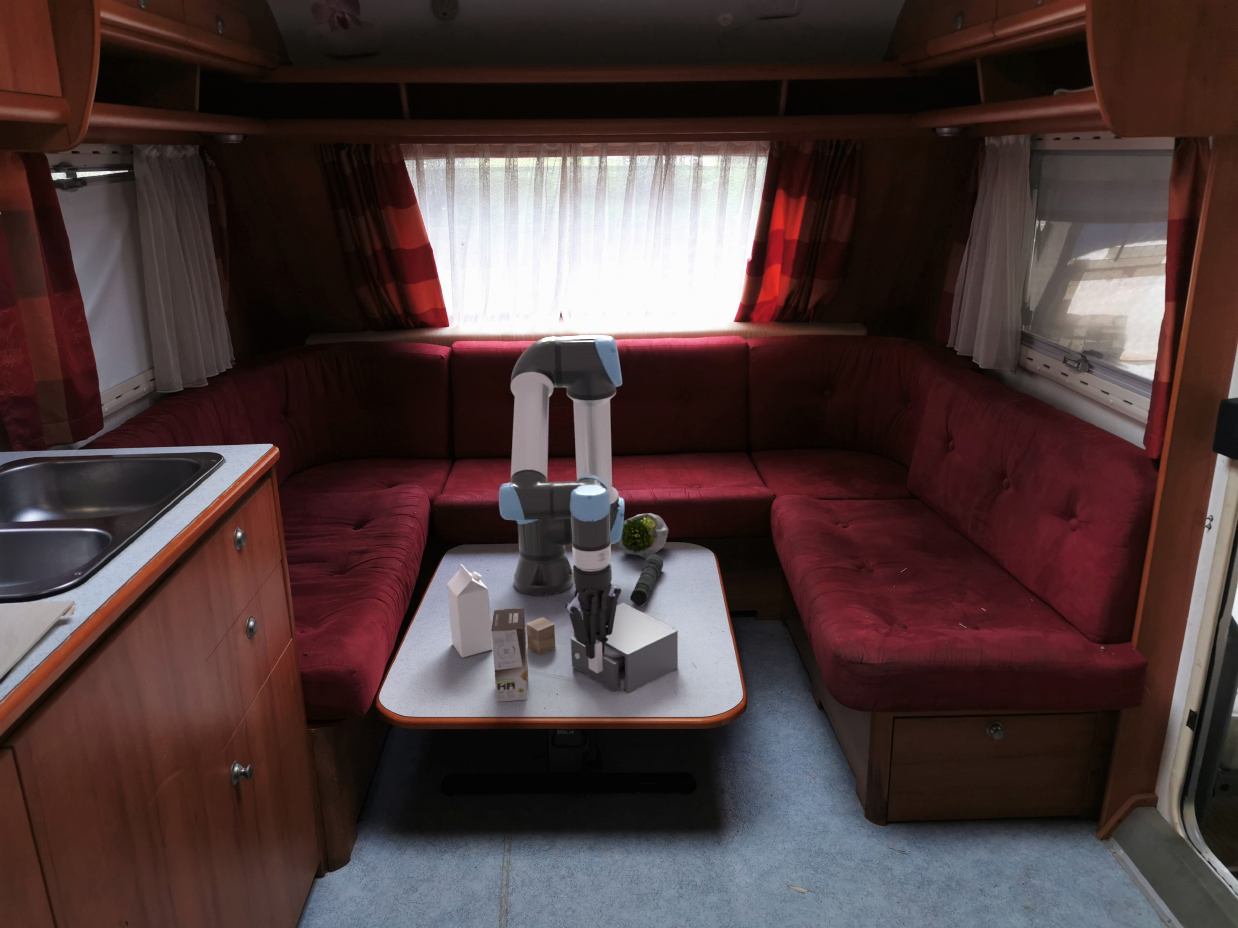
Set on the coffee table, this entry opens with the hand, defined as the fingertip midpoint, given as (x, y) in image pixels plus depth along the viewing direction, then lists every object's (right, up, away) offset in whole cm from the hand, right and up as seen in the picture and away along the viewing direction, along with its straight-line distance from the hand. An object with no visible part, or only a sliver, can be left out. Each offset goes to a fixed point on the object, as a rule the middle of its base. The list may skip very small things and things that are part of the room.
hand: (595, 669), depth 184 cm
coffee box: (-17, -4, +1) cm, 18 cm away
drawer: (+4, -1, +7) cm, 8 cm away
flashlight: (+12, +10, +43) cm, 46 cm away
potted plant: (+11, +17, +62) cm, 65 cm away
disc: (+3, +3, +5) cm, 6 cm away
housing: (+6, -1, +9) cm, 11 cm away
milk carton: (-28, +1, +17) cm, 33 cm away
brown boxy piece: (-12, +1, +16) cm, 20 cm away
